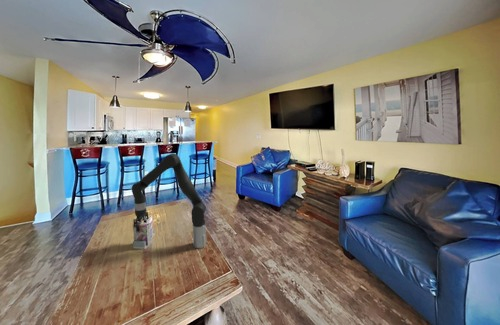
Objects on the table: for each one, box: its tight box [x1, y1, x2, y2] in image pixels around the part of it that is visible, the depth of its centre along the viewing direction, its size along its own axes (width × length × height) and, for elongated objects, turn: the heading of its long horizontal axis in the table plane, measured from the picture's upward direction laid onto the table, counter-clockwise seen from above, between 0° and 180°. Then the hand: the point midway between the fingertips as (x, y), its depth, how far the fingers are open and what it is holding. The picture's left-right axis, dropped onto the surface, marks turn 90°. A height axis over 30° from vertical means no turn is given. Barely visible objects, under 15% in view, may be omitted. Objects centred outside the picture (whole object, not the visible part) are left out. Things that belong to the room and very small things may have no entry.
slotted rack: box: [132, 235, 153, 250], centre depth 145 cm, size 9×9×5 cm
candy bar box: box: [132, 221, 152, 247], centre depth 144 cm, size 11×5×16 cm, turn 85°
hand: (141, 228), depth 143 cm, fingers open, 8 cm apart
